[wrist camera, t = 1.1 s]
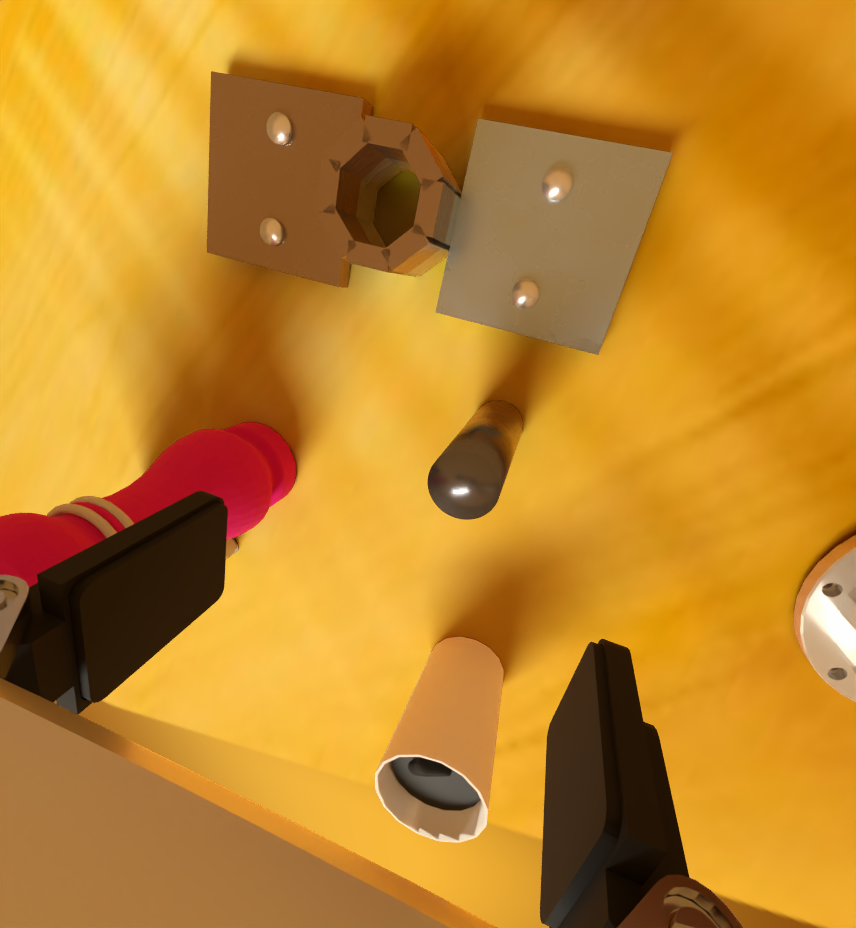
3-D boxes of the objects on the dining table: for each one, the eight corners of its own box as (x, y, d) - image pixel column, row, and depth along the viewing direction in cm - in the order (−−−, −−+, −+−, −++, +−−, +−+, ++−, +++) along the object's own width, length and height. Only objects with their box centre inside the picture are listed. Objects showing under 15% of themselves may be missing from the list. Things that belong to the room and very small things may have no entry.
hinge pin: (529, 408, 26) (509, 464, 17) (514, 454, 28) (488, 529, 19) (480, 394, 27) (436, 441, 18) (468, 440, 28) (420, 505, 19)
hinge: (667, 160, 21) (692, 125, 17) (596, 352, 24) (602, 363, 20) (226, 81, 25) (159, 37, 21) (220, 254, 29) (161, 246, 25)
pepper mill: (221, 401, 32) (-213, 527, 14) (309, 432, 31) (-45, 612, 13) (216, 488, 35) (-152, 683, 17) (297, 519, 34) (-8, 765, 16)
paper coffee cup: (408, 663, 36) (354, 785, 27) (456, 615, 33) (414, 735, 24) (474, 716, 36) (442, 857, 27) (529, 672, 33) (513, 815, 24)
